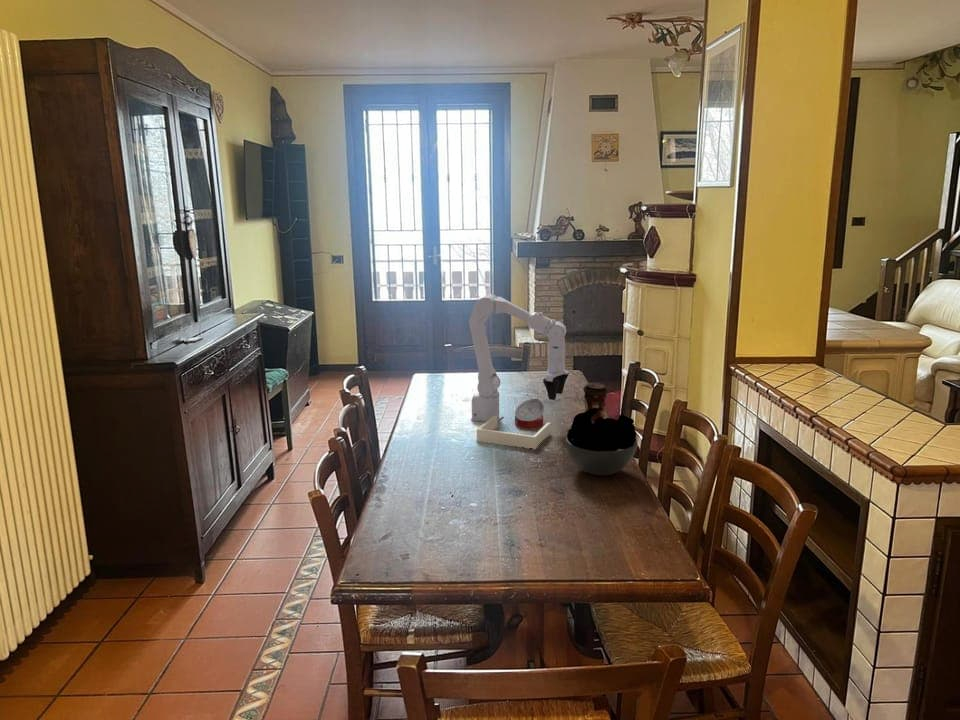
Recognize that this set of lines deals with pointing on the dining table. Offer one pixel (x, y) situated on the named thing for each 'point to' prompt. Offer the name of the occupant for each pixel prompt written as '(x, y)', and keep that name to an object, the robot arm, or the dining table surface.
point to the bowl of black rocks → (601, 443)
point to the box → (510, 435)
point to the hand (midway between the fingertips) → (555, 396)
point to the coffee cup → (595, 399)
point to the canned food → (529, 414)
